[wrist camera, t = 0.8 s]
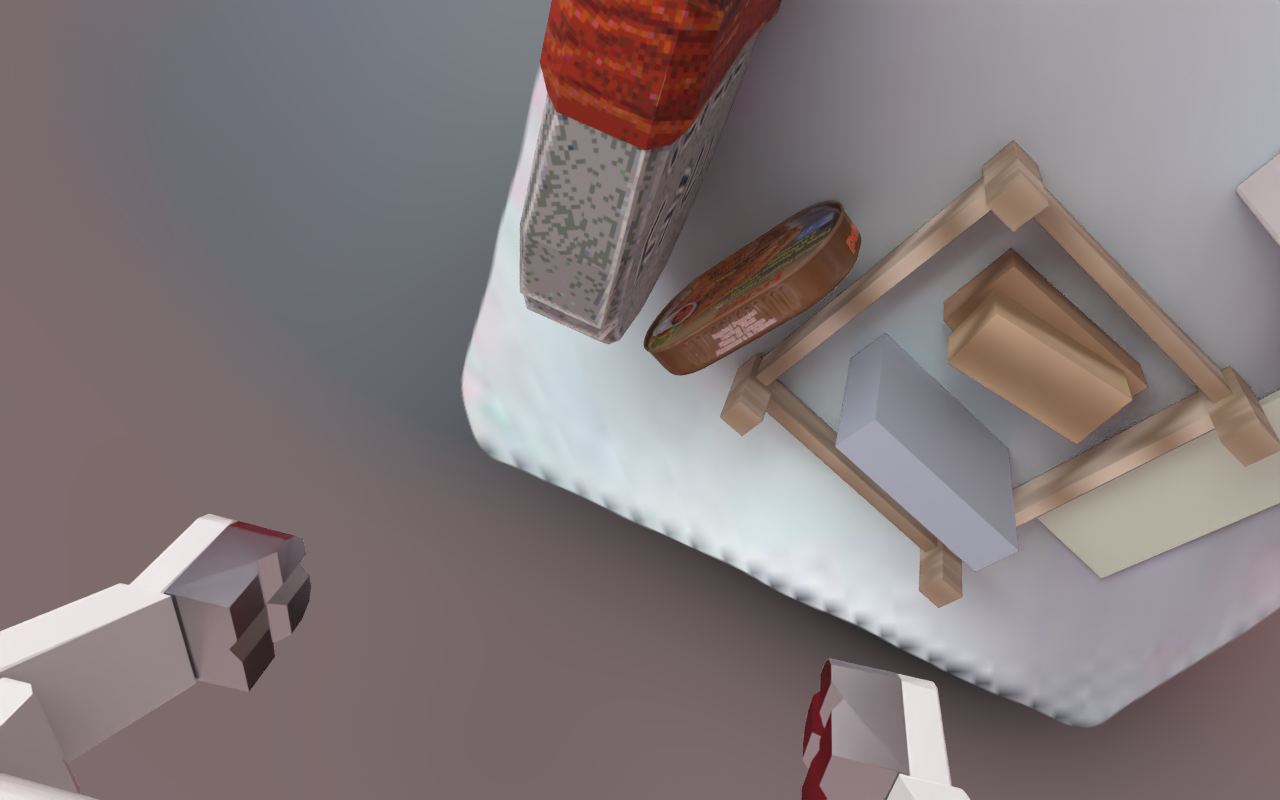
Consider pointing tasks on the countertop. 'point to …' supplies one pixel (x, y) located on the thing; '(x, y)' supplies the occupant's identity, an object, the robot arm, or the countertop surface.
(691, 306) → the tin
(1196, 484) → the mat
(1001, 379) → the offcut upper
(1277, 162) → the soap bottle
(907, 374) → the lavender grey box
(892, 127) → the countertop surface
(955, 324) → the offcut lower
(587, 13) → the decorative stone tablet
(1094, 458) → the rack
